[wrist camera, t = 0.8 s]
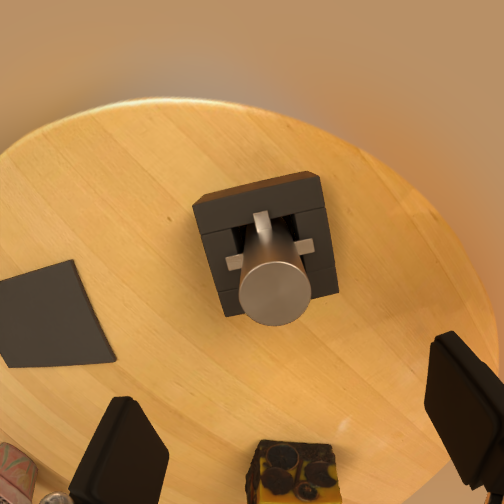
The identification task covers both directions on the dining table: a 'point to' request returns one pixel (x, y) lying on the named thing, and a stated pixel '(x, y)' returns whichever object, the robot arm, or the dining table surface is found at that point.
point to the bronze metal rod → (272, 272)
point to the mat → (49, 320)
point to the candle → (292, 474)
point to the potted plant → (16, 476)
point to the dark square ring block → (278, 204)
